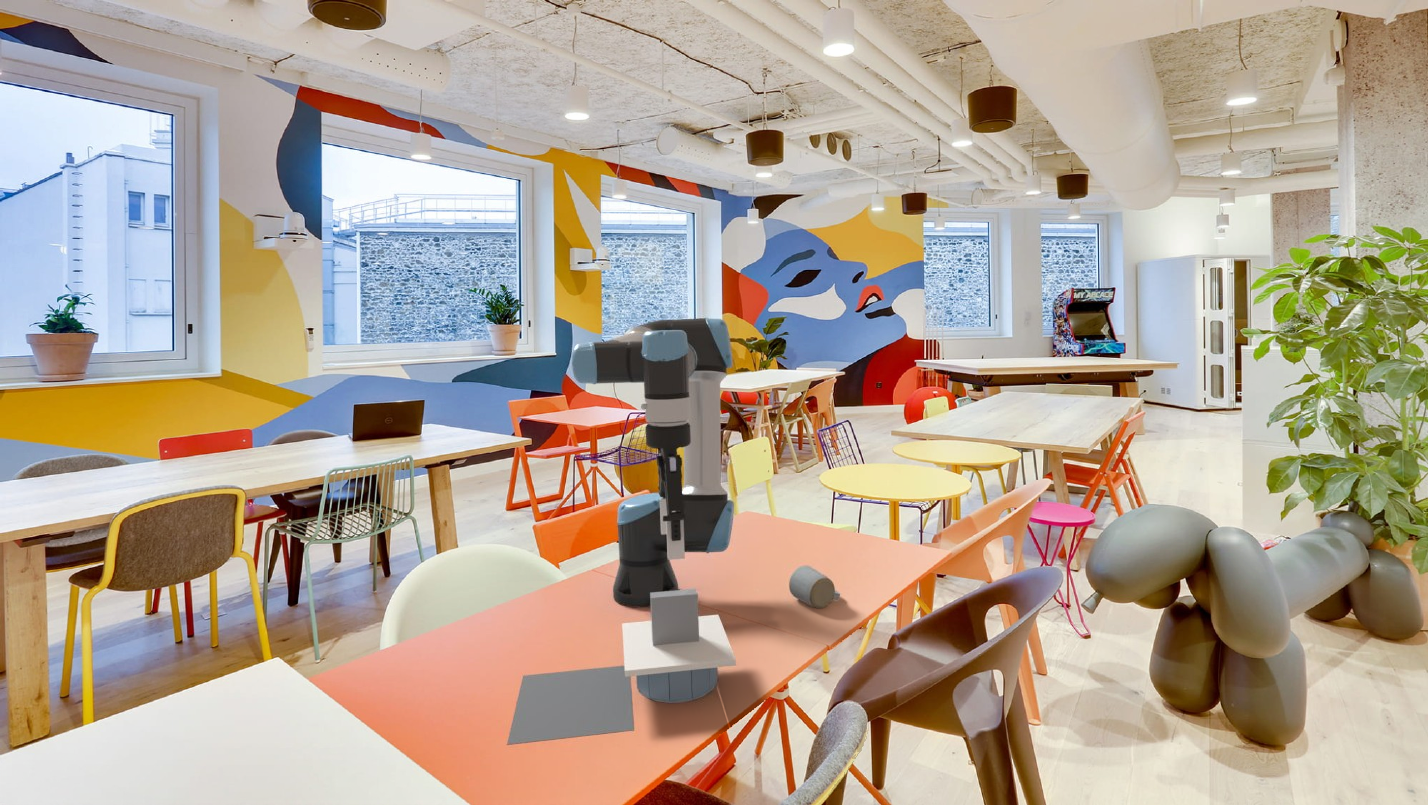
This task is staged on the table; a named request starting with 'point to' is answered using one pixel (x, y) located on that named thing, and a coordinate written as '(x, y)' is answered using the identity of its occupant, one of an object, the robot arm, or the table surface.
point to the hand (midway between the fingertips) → (672, 545)
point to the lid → (675, 637)
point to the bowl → (678, 685)
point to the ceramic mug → (812, 587)
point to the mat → (572, 705)
